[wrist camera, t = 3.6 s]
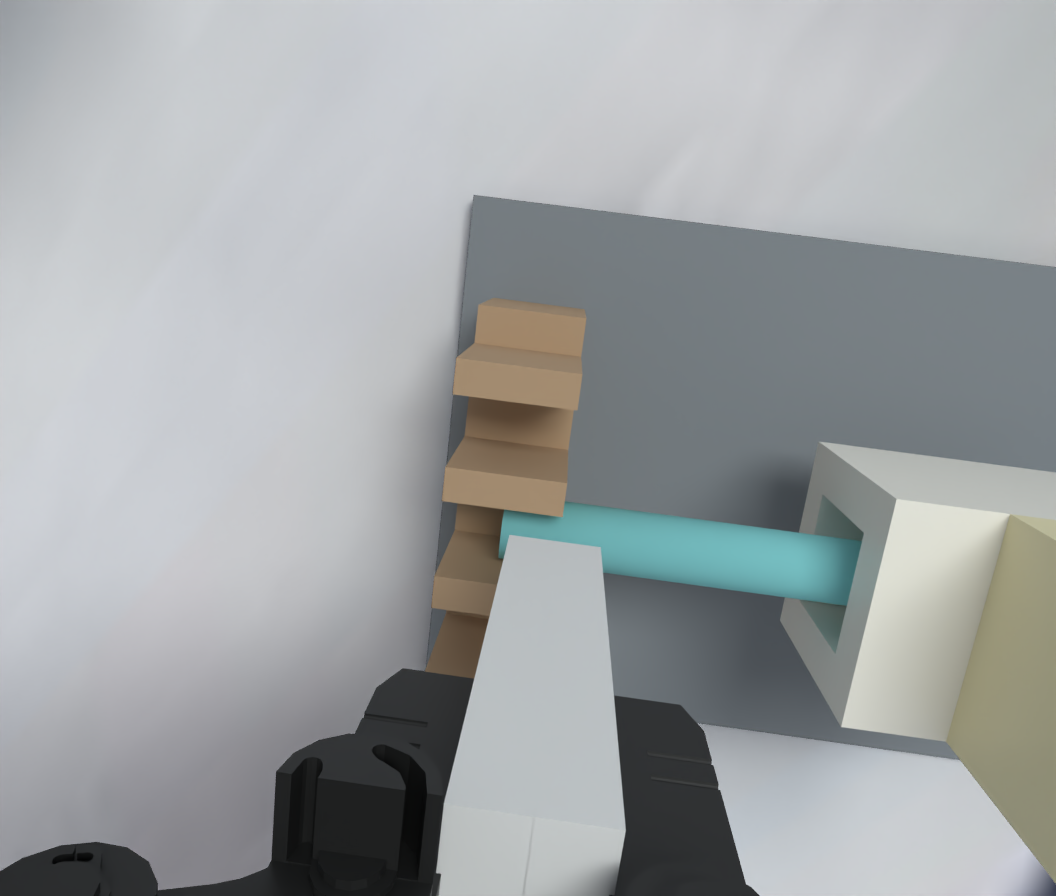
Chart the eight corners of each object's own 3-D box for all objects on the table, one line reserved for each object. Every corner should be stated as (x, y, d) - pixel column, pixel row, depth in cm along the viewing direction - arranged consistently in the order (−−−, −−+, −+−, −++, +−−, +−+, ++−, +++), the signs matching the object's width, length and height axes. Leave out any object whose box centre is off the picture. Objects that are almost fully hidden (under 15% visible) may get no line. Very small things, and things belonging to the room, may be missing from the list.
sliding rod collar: (779, 620, 20) (968, 948, 10) (818, 441, 18) (1068, 624, 9) (1023, 653, 19) (1440, 1018, 10) (1076, 475, 18) (1599, 698, 9)
